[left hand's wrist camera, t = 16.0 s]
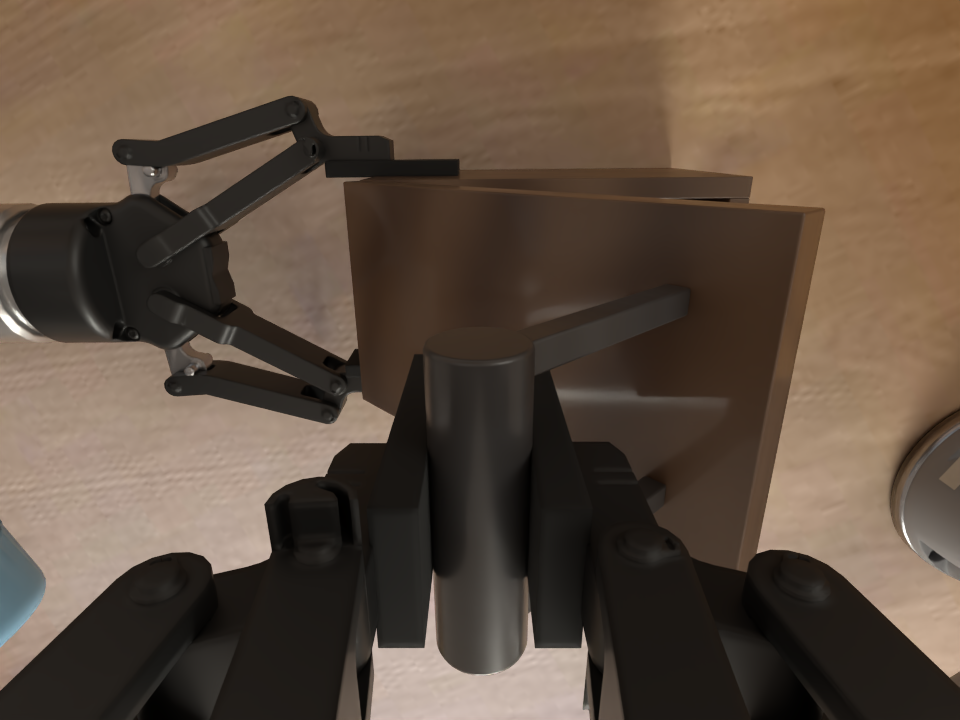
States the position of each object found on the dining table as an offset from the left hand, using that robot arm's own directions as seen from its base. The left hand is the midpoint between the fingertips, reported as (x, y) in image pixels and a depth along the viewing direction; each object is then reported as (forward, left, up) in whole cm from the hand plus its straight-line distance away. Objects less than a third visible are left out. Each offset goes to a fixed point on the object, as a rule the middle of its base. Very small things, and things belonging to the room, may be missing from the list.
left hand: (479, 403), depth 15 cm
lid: (-1, 0, -6) cm, 6 cm away
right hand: (+1, 0, -17) cm, 17 cm away
